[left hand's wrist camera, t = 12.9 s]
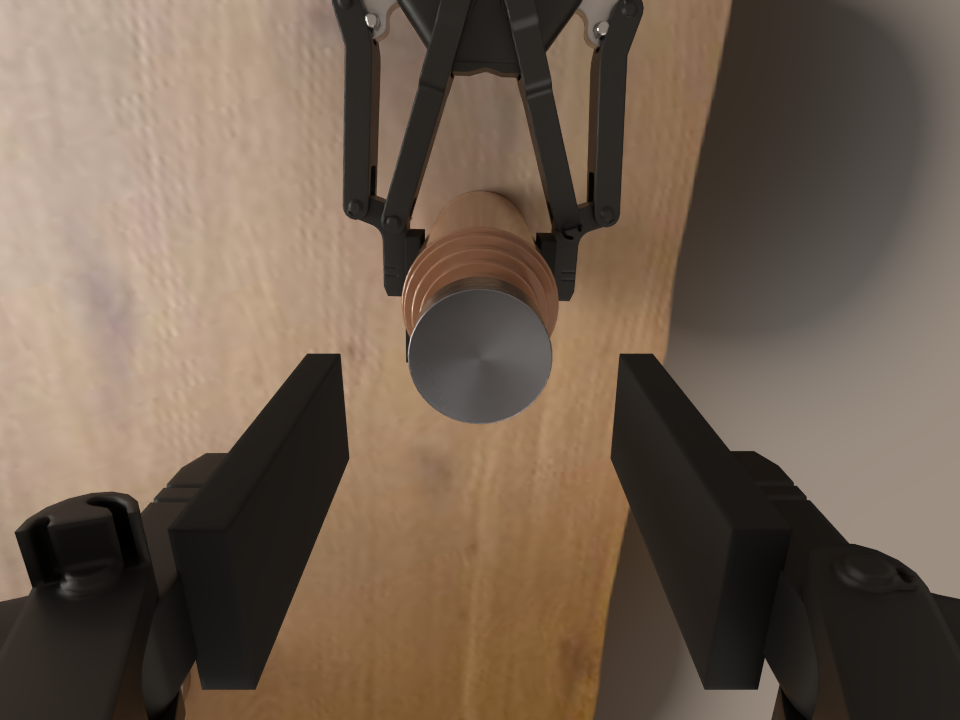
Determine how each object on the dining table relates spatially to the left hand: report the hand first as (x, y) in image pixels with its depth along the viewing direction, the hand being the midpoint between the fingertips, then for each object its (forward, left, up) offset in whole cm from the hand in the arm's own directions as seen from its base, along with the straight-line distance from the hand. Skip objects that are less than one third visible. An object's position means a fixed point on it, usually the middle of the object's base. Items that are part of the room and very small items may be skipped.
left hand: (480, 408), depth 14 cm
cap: (0, 0, -4) cm, 4 cm away
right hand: (-5, -1, -18) cm, 19 cm away
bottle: (0, 0, -24) cm, 24 cm away
